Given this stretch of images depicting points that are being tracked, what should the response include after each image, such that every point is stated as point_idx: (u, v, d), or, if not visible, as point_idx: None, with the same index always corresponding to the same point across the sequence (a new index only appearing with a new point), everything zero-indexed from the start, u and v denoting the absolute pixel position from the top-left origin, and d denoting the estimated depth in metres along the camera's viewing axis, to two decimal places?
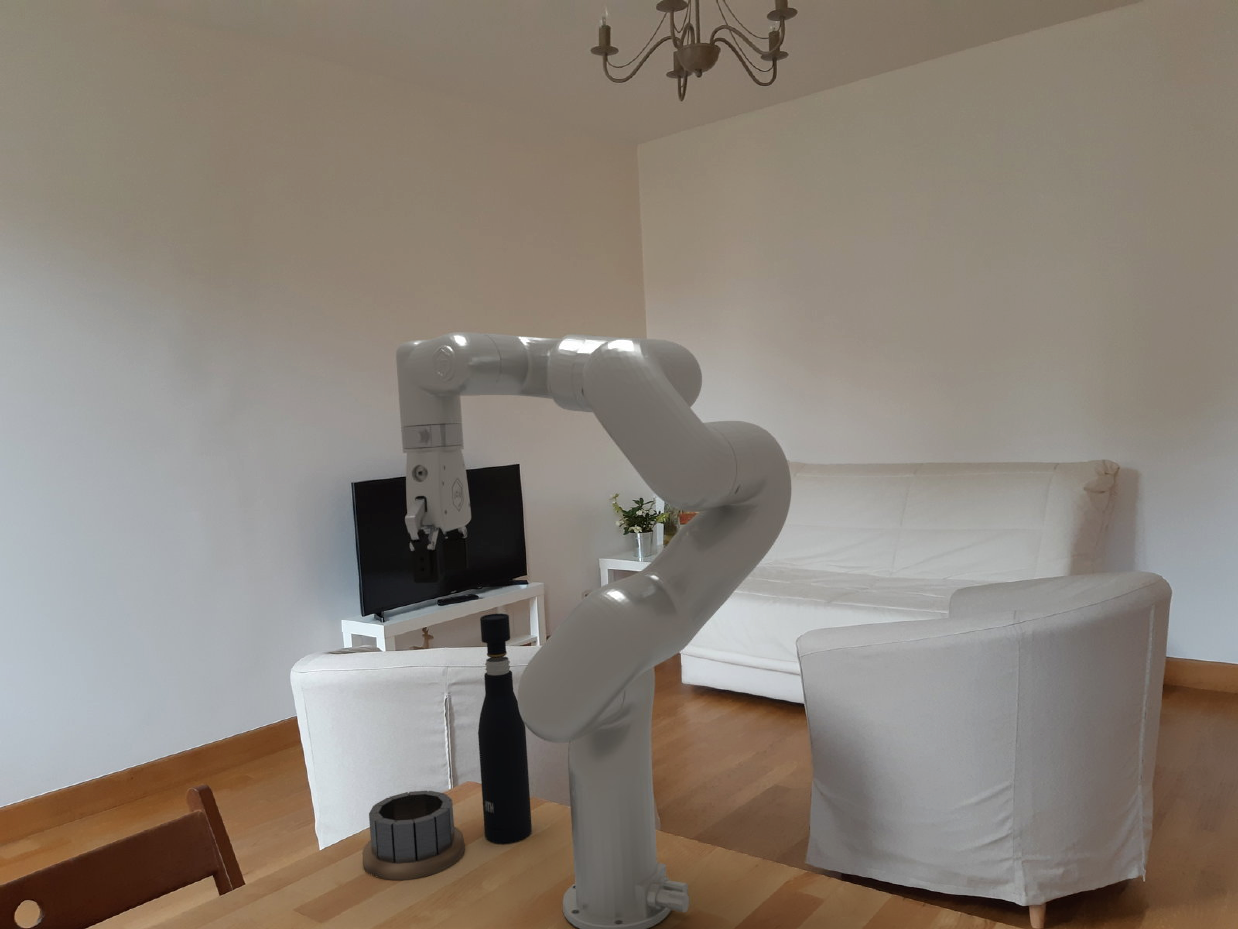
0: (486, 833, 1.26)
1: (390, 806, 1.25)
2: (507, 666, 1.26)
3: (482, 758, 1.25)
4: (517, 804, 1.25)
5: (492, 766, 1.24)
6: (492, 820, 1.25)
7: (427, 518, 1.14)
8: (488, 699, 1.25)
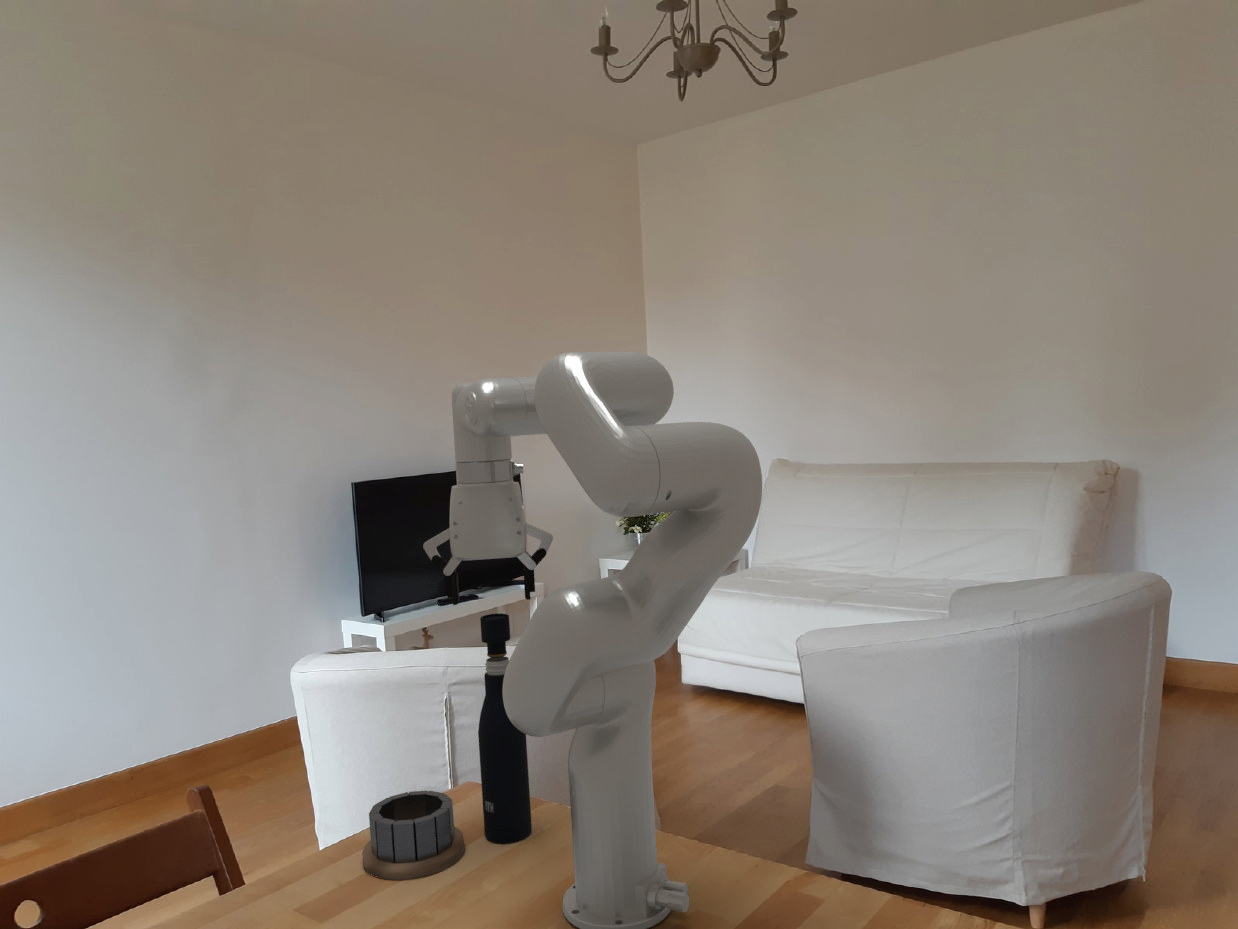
0: (486, 833, 1.26)
1: (390, 806, 1.25)
2: None
3: (482, 758, 1.25)
4: (517, 804, 1.25)
5: (492, 766, 1.24)
6: (492, 820, 1.25)
7: None
8: (488, 699, 1.25)
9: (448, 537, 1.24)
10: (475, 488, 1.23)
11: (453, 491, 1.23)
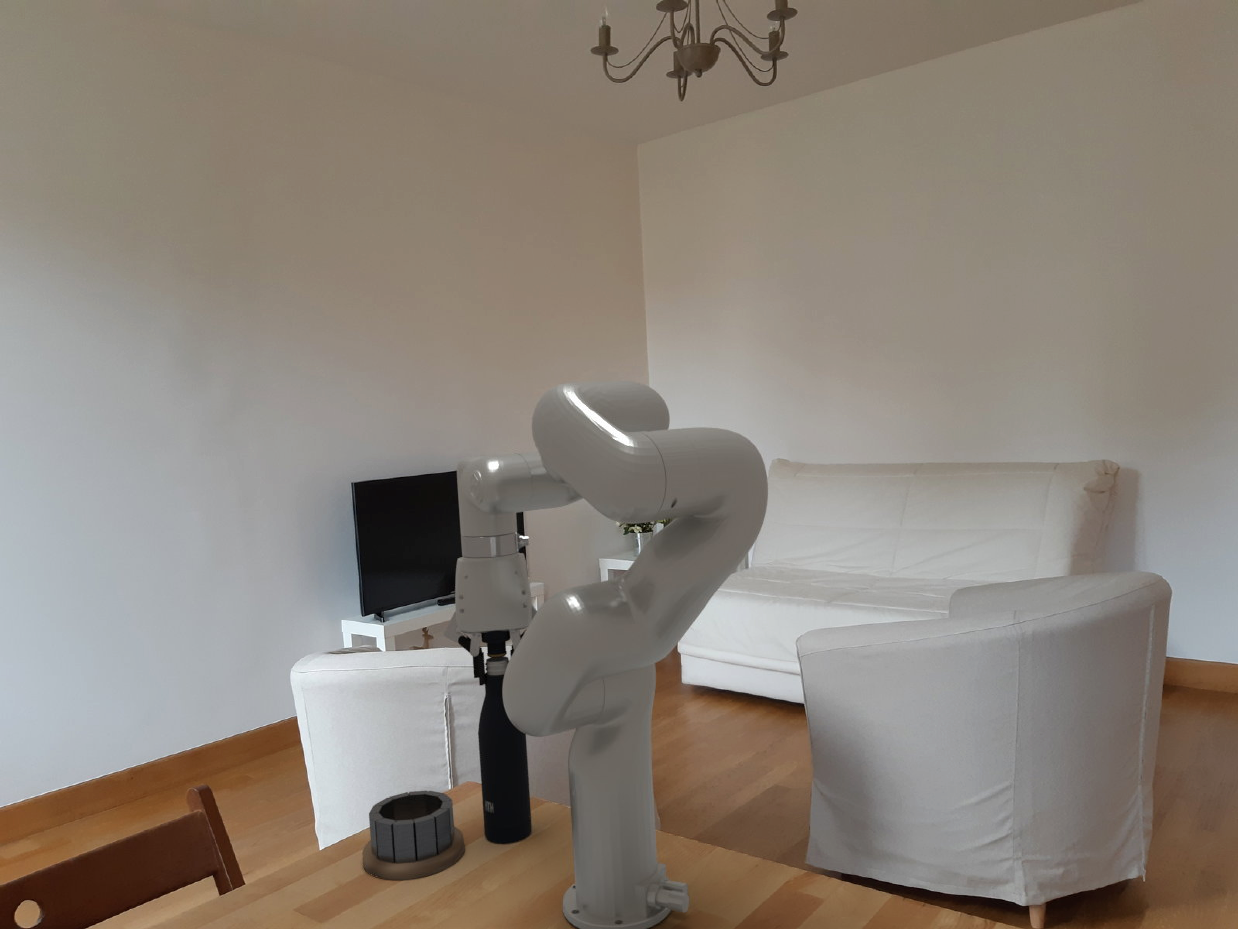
0: (486, 833, 1.26)
1: (390, 806, 1.25)
2: None
3: (482, 758, 1.25)
4: (517, 804, 1.25)
5: (492, 766, 1.24)
6: (492, 820, 1.25)
7: None
8: (488, 699, 1.25)
9: None
10: (481, 562, 1.23)
11: (459, 565, 1.24)
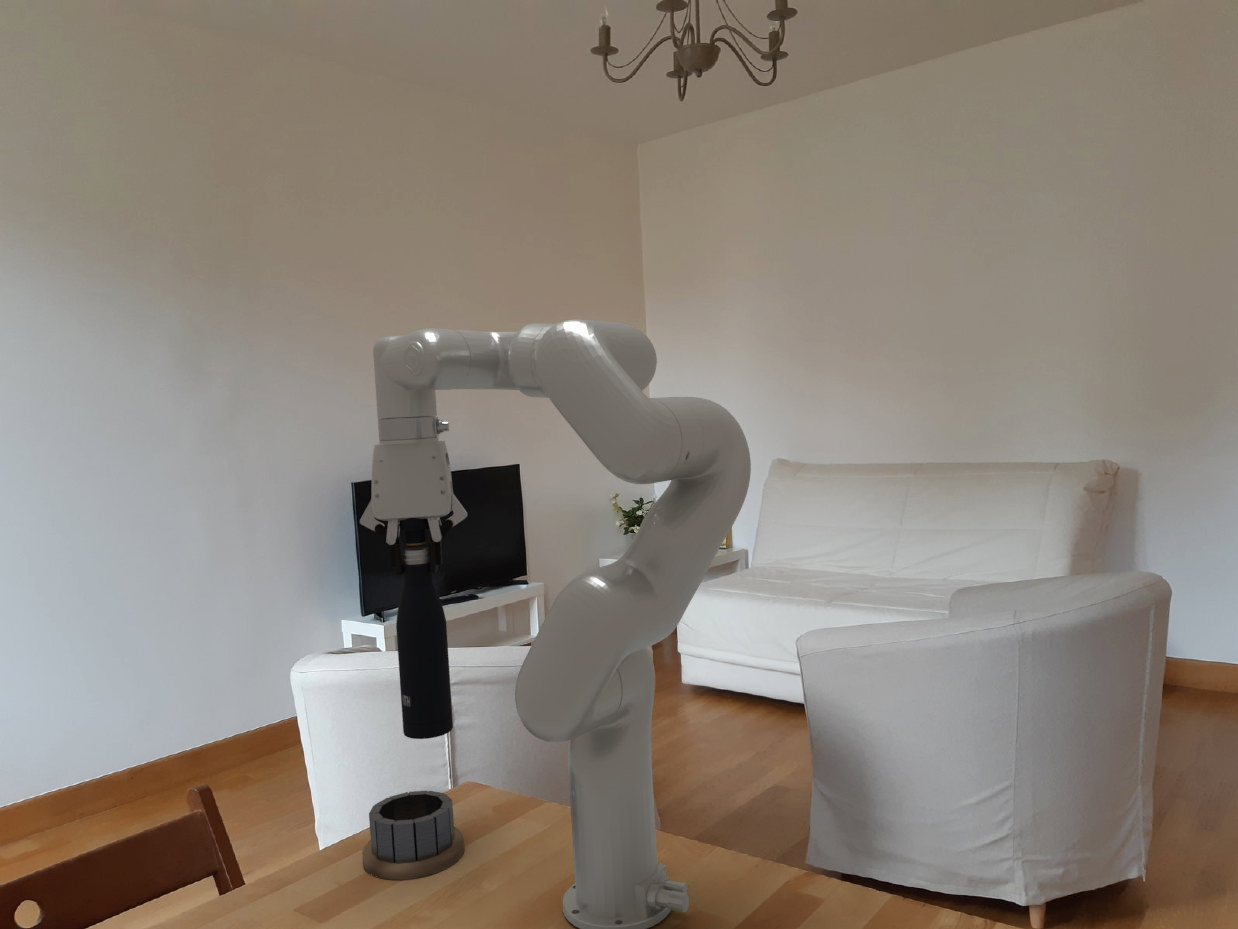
0: (404, 729, 1.22)
1: (390, 806, 1.25)
2: (426, 556, 1.21)
3: (399, 650, 1.21)
4: (434, 698, 1.20)
5: (408, 658, 1.20)
6: (409, 714, 1.20)
7: None
8: (406, 589, 1.21)
9: None
10: (396, 445, 1.18)
11: (374, 449, 1.19)
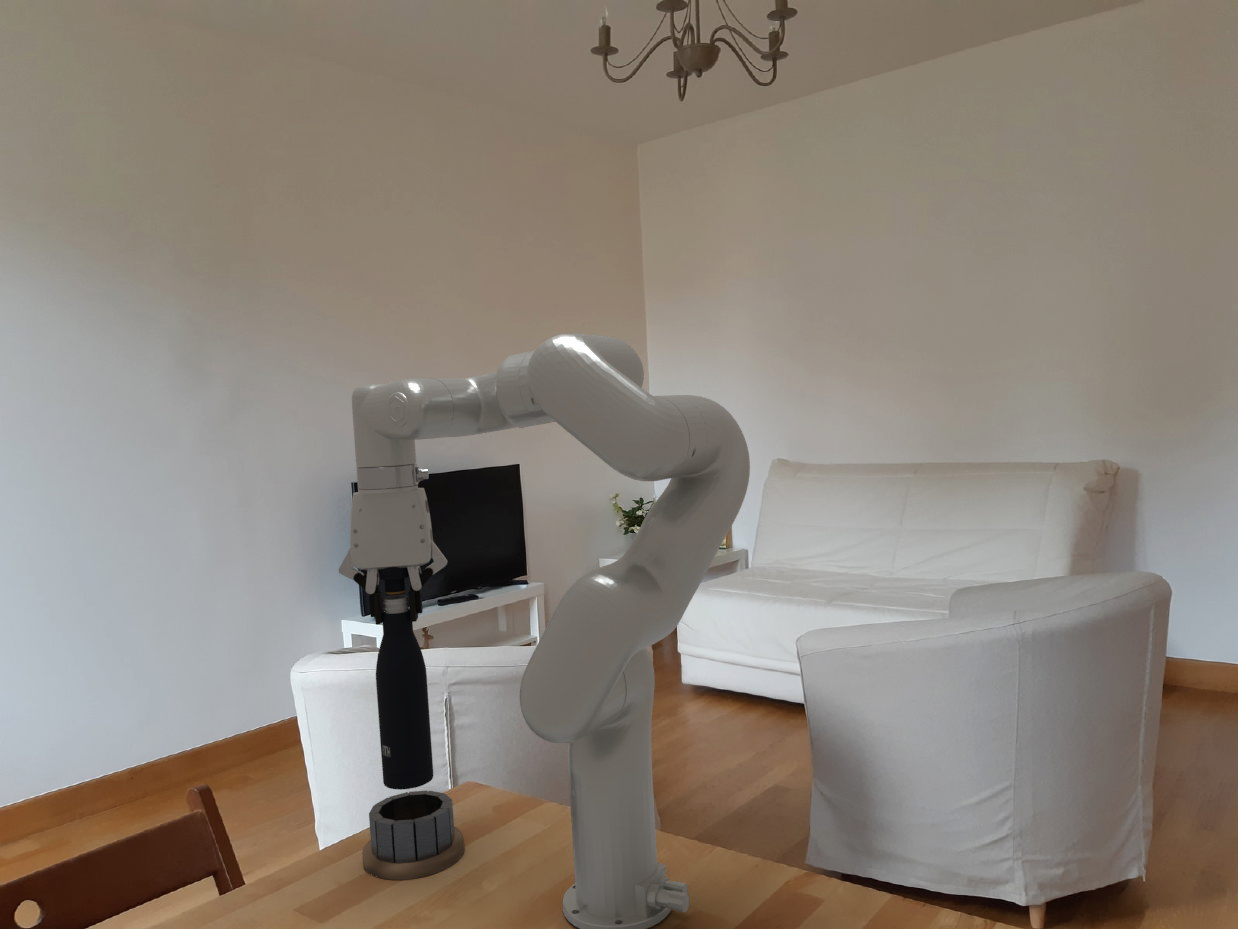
0: (384, 779, 1.21)
1: (390, 806, 1.25)
2: (406, 604, 1.20)
3: (379, 700, 1.20)
4: (415, 748, 1.19)
5: (388, 708, 1.19)
6: (389, 765, 1.19)
7: None
8: (385, 639, 1.20)
9: None
10: (375, 494, 1.18)
11: (353, 498, 1.18)
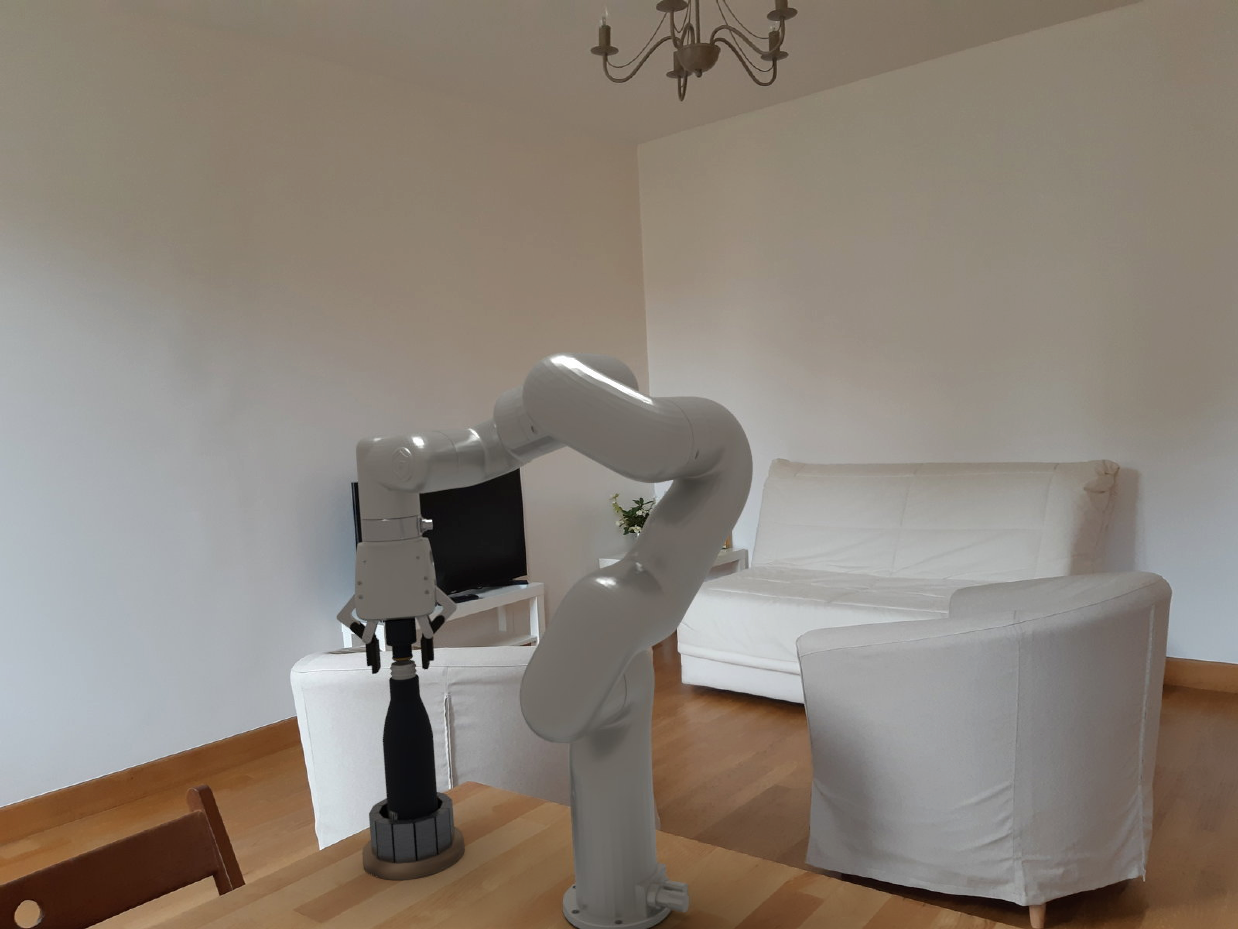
0: None
1: None
2: (413, 670, 1.21)
3: (386, 766, 1.20)
4: (422, 814, 1.20)
5: (395, 775, 1.19)
6: None
7: None
8: (392, 705, 1.20)
9: None
10: (380, 546, 1.18)
11: (358, 549, 1.18)
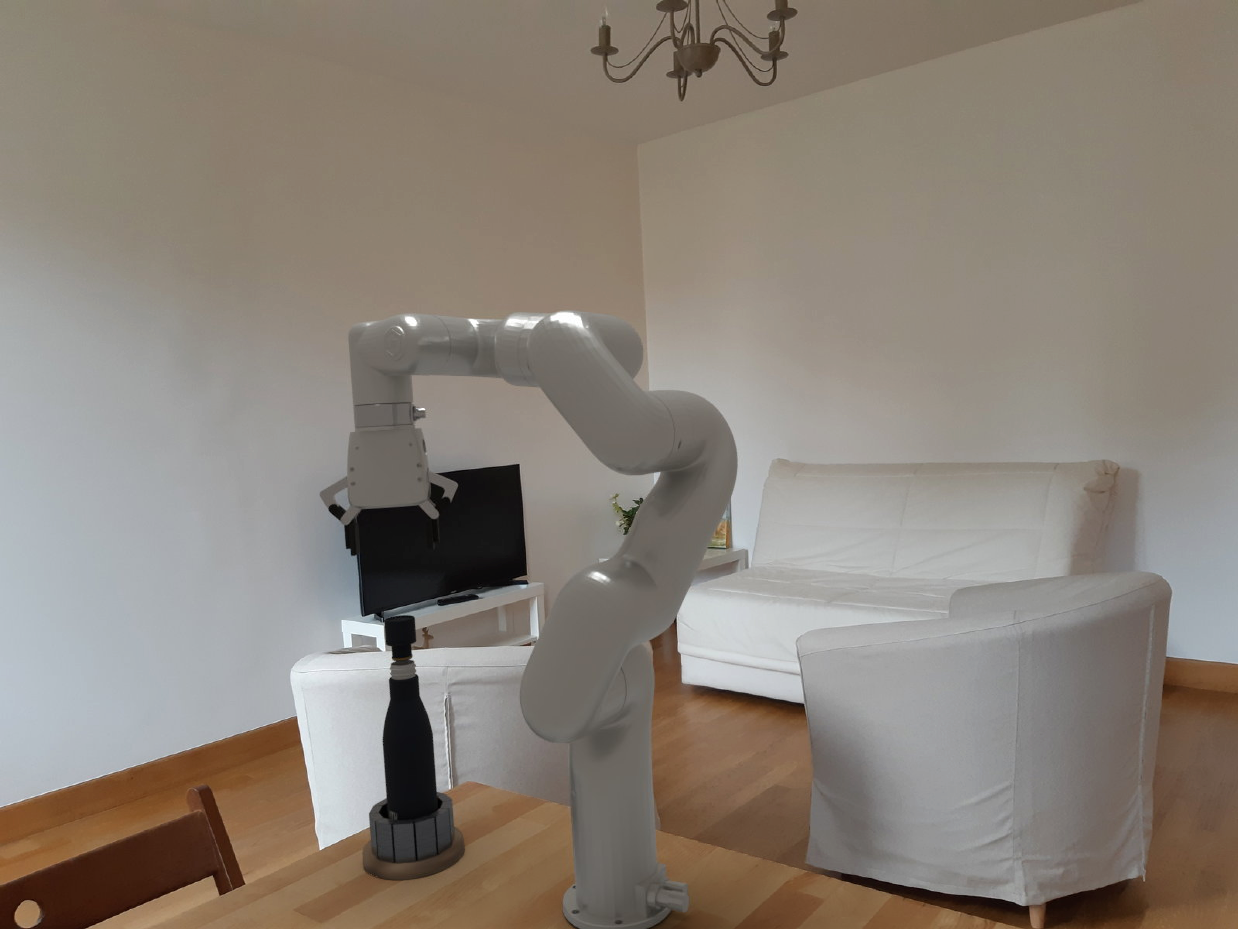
0: None
1: None
2: (412, 670, 1.21)
3: (386, 766, 1.20)
4: (422, 814, 1.20)
5: (395, 775, 1.19)
6: None
7: None
8: (392, 705, 1.20)
9: (346, 485, 1.19)
10: (372, 432, 1.17)
11: (350, 436, 1.18)
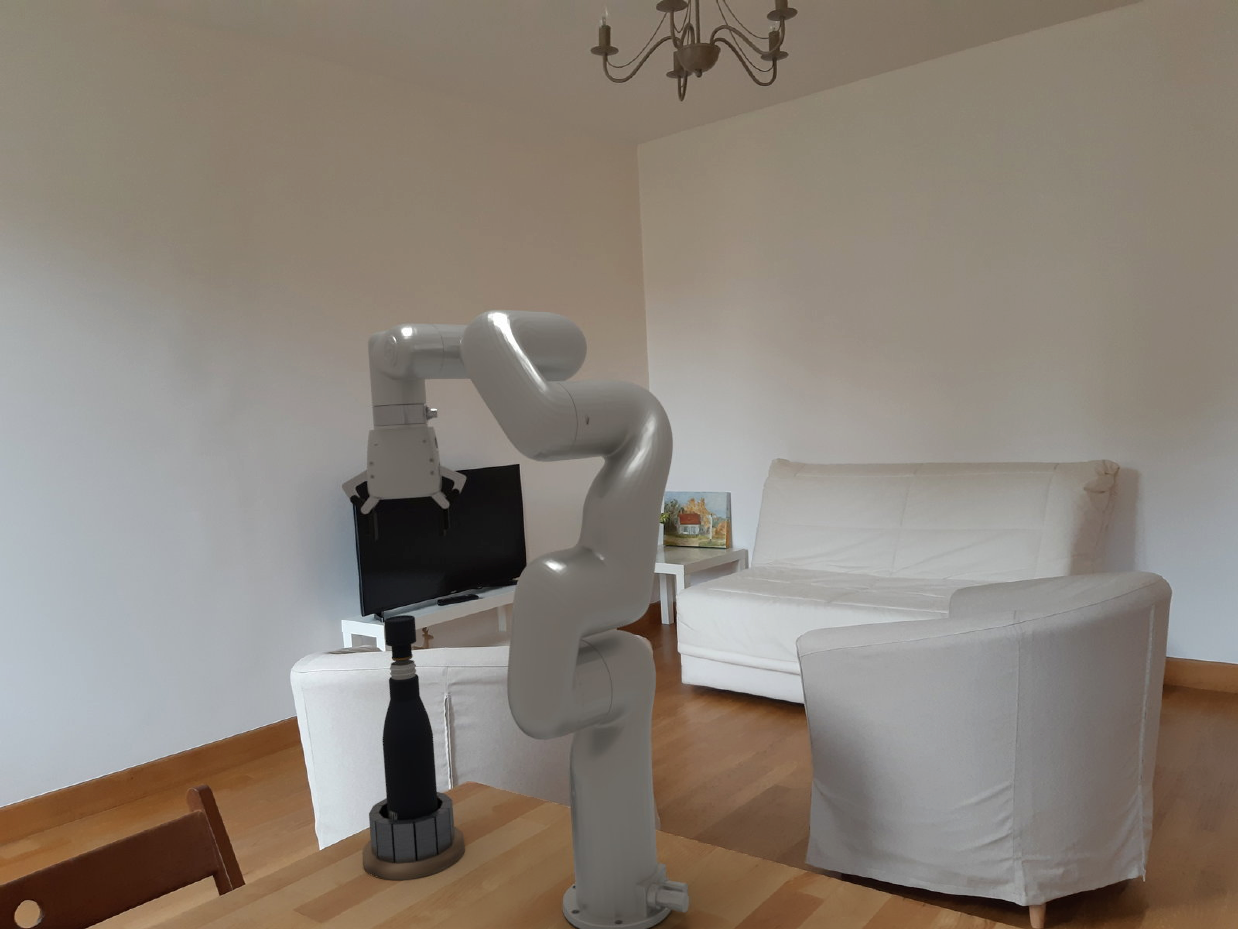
0: None
1: None
2: (412, 670, 1.21)
3: (386, 766, 1.20)
4: (422, 814, 1.20)
5: (395, 775, 1.19)
6: None
7: None
8: (392, 705, 1.20)
9: (366, 478, 1.32)
10: (390, 430, 1.30)
11: (369, 434, 1.31)
